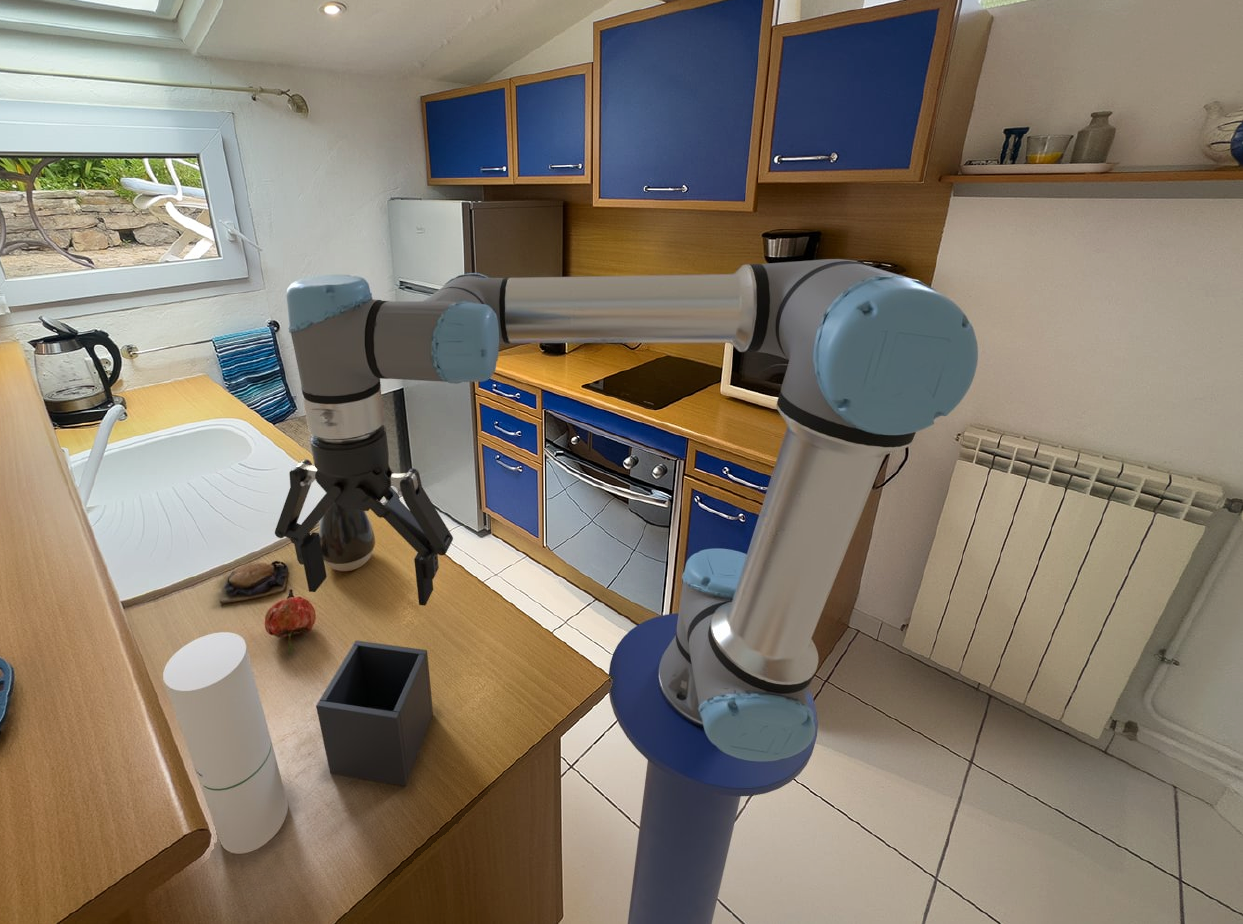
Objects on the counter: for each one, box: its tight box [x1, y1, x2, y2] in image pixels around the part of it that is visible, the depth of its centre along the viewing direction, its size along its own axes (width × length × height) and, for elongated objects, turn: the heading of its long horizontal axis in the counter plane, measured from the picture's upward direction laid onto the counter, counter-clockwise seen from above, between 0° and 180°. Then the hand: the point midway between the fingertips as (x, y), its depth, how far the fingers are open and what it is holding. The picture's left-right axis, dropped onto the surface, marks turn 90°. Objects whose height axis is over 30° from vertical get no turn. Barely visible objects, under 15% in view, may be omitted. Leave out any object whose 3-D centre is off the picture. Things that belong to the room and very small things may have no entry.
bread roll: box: [218, 560, 288, 604], centre depth 100 cm, size 11×8×4 cm
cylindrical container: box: [162, 631, 289, 855], centre depth 60 cm, size 7×7×25 cm
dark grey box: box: [315, 640, 434, 787], centre depth 71 cm, size 10×12×10 cm
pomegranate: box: [264, 588, 317, 656], centre depth 88 cm, size 7×7×10 cm
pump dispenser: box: [318, 503, 376, 572], centre depth 104 cm, size 10×10×15 cm
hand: (371, 591), depth 66 cm, fingers open, 13 cm apart
